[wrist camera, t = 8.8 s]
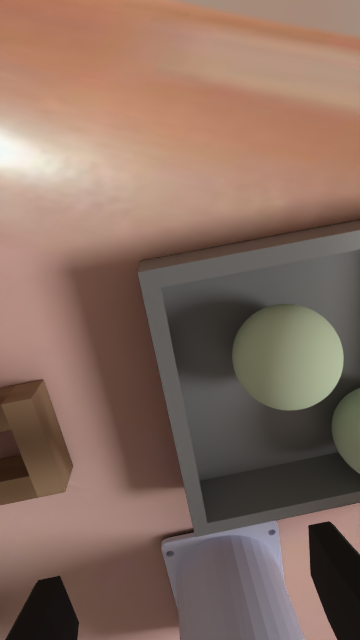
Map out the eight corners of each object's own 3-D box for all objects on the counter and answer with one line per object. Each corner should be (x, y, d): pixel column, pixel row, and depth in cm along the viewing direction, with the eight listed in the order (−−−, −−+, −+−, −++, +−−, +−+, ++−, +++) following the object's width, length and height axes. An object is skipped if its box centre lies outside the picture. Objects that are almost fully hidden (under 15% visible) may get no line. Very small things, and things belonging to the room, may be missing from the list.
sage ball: (310, 370, 19) (368, 419, 14) (226, 388, 19) (257, 444, 14) (306, 286, 18) (370, 309, 13) (215, 303, 17) (246, 334, 13)
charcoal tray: (409, 441, 22) (455, 482, 19) (188, 487, 22) (195, 537, 18) (420, 207, 17) (485, 206, 14) (140, 260, 17) (137, 272, 14)
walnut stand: (73, 466, 20) (64, 492, 18) (-25, 485, 20) (-44, 514, 18) (43, 379, 18) (31, 398, 16) (-66, 401, 18) (-90, 422, 16)
